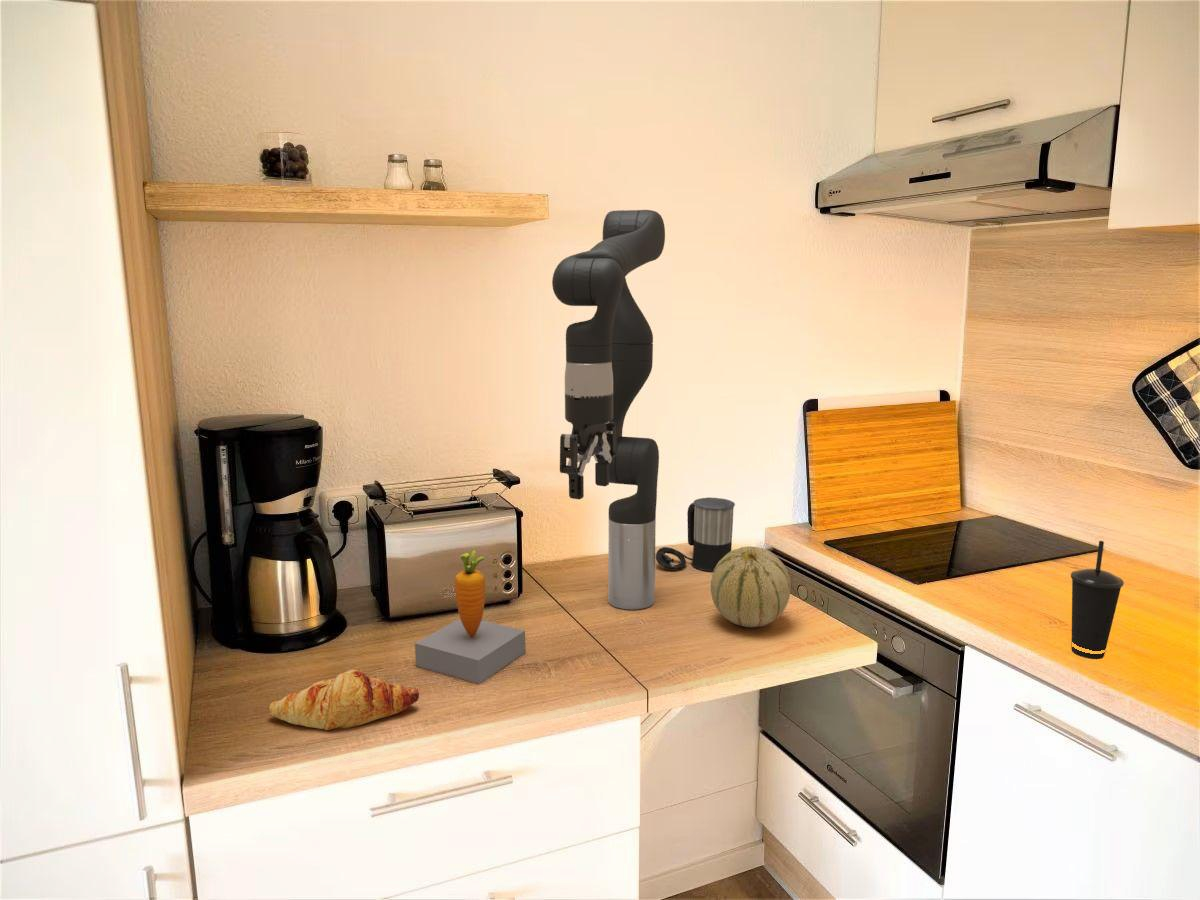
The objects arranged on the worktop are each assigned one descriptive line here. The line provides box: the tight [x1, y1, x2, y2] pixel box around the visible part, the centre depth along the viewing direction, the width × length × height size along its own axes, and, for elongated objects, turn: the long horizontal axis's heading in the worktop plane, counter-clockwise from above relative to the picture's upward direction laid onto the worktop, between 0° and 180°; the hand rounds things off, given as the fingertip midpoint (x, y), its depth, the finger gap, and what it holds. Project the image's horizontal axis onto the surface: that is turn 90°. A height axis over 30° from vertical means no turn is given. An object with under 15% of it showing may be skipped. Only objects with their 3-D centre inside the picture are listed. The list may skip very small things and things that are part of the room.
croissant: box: [269, 669, 420, 731], centre depth 118 cm, size 21×10×8 cm, turn 100°
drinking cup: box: [1070, 540, 1125, 660], centre depth 137 cm, size 8×8×20 cm
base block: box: [414, 618, 526, 685], centre depth 136 cm, size 13×13×4 cm
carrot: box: [454, 550, 486, 637], centre depth 134 cm, size 5×5×15 cm
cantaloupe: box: [710, 546, 792, 628], centre depth 149 cm, size 15×15×15 cm
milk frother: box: [655, 497, 736, 572], centre depth 181 cm, size 14×16×15 cm
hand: (589, 491), depth 129 cm, fingers open, 8 cm apart
